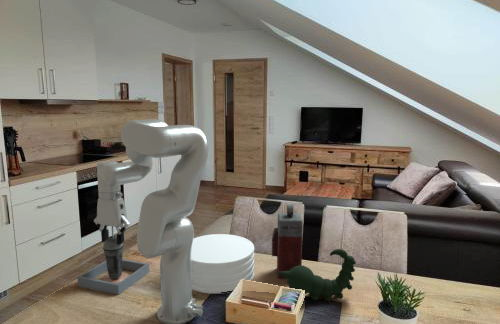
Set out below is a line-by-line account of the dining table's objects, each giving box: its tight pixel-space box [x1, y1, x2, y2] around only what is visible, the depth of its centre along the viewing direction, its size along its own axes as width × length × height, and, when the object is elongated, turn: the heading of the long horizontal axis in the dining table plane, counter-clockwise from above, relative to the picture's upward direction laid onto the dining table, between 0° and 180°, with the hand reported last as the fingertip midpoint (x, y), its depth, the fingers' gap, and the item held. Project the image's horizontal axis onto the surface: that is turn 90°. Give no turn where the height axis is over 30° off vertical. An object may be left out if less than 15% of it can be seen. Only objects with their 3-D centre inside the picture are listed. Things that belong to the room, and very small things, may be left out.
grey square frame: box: [77, 258, 150, 295], centre depth 136 cm, size 18×18×4 cm
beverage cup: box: [102, 226, 124, 279], centre depth 135 cm, size 7×7×20 cm
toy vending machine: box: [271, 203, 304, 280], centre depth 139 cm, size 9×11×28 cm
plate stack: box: [191, 233, 255, 294], centre depth 139 cm, size 28×28×12 cm
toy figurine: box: [279, 248, 357, 303], centre depth 123 cm, size 9×19×25 cm
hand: (113, 241), depth 134 cm, fingers closed on beverage cup, 6 cm apart
